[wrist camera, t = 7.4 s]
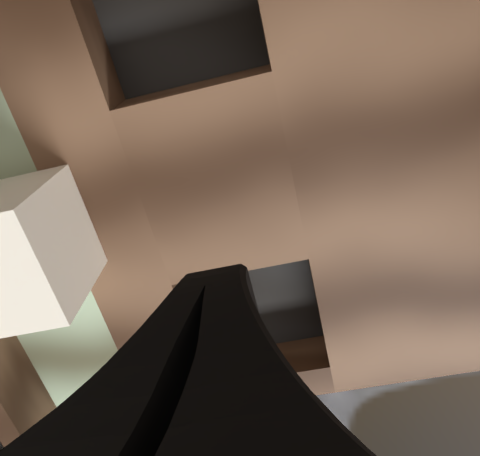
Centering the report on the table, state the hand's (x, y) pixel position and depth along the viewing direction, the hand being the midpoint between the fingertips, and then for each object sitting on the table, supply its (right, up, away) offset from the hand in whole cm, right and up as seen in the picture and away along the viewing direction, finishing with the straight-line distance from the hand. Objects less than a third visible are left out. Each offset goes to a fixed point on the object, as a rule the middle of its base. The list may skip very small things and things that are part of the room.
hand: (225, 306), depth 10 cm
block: (-7, +2, +7) cm, 10 cm away
